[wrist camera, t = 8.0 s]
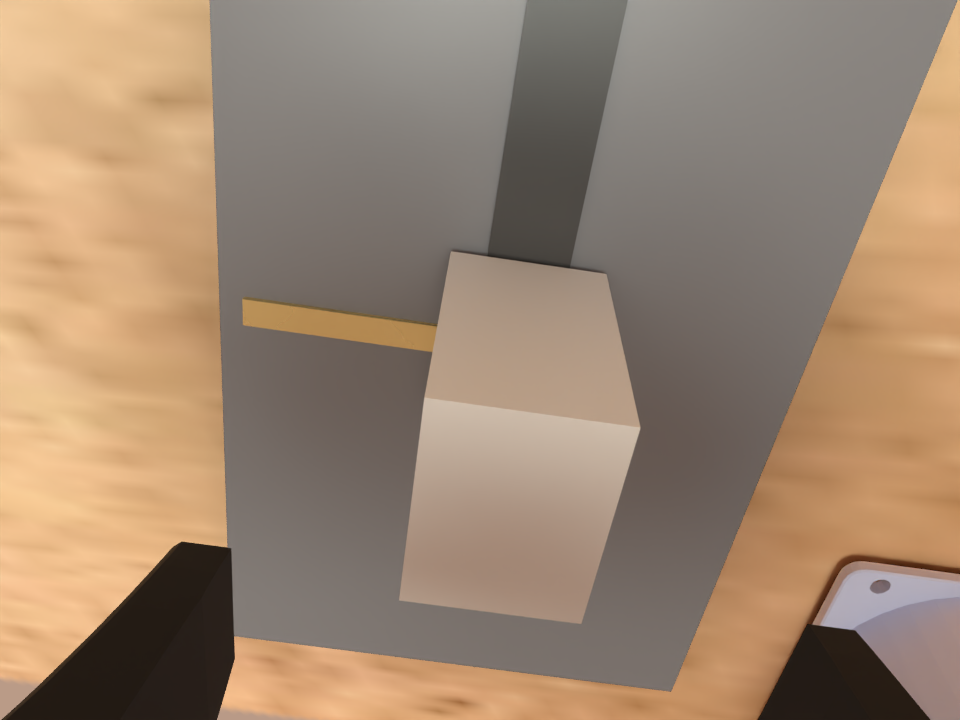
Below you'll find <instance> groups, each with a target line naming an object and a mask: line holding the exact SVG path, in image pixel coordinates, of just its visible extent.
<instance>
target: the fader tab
mask: <svg viewBox="0 0 960 720" xmlns="http://www.w3.org/2000/svg"><path fill="white" fill-rule="evenodd" d="M640 428H641V427H640V423H639V418H638V414H637V409H636V405H635V400H634V396H633V391H632V387H631V382H630V378H629V373H628V369H627V364H626V360H625V355H624V351H623V346H622V342H621V337H620V333H619V328H618V324H617V319H616V315H615V310H614V306H613V301H612V297H611V292H610V288H609V283H608V279H607V274H603V273H597V272H590V271H583V270H576V269H569V268H562V267H556V266H549V265H542V264H535V263H528V262H521V261H515V260H508V259H501V258H494V257H487V256H480V255H474V254H467V253H460V252H453V251H451V253H450V259H449V264H448V270H447V275H446V281H445V286H444V292H443V297H442V303H441V308H440V314H439V319H438V325H437V330H436V336H435V341H434V347H433V352H432V358H431V363H430V369H429V375H428V380H427V386H426V391H425V397H424V404H423V412H422V420H421V428H420V436H419V444H418V452H417V460H416V468H415V476H414V484H413V492H412V500H411V508H410V516H409V524H408V532H407V540H406V548H405V556H404V564H403V572H402V580H401V588H400V596H399V601H407V602H415V603H423V604H430V605H438V606H446V607H453V608H461V609H469V610H476V611H484V612H492V613H500V614H507V615H515V616H523V617H530V618H538V619H546V620H553V621H561V622H569V623H577V624H581V623H582V620H583V617H584V614H585V610H586V607H587V604H588V600H589V597H590V594H591V590H592V587H593V584H594V580H595V577H596V574H597V570H598V567H599V564H600V561H601V557H602V554H603V551H604V547H605V544H606V541H607V537H608V534H609V531H610V527H611V524H612V521H613V517H614V514H615V511H616V508H617V504H618V501H619V498H620V494H621V491H622V488H623V484H624V481H625V478H626V474H627V471H628V468H629V464H630V461H631V458H632V455H633V451H634V448H635V445H636V441H637V438H638V435H639V431H640Z"/></svg>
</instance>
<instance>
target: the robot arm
mask: <svg viewBox="0 0 960 720" xmlns="http://www.w3.org/2000/svg"><path fill="white" fill-rule="evenodd" d="M877 580H880V581H878V582H875V581H877ZM234 659H235V653H234V619H233V586H232V552H231V548H226V547H218V546H210V545H203V544H195V543H188V542H180V543H179V544H177V545H176V546H174V547H173V548H172V549H171V550H170V551H169V552H168V553H167V554H166V555H165V556H164V558H163V559H162V560H161V561H160V562H159V563H158V564H157V565H156V566H155V568H154V569H153V570H152V571H151V572H150V573H149V574H148V575H147V576H146V577H145V578H144V579H143V581H142V582H141V583H140V584H139V585H138V586H137V587H136V588H135V589H134V590H133V591H132V592H131V593H130V595H129V596H128V597H127V598H126V599H125V600H124V601H123V602H122V603H121V604H120V605H119V606H118V607H117V608H116V609H115V610H114V611H113V612H112V613H111V614H110V615H109V616H108V617H107V618H106V620H105V621H104V622H103V623H102V624H101V625H100V626H99V627H98V628H97V629H96V630H95V631H94V632H93V633H92V634H91V635H90V636H89V637H88V638H87V639H86V640H85V641H84V642H83V643H82V644H81V645H80V646H79V647H78V648H77V649H76V650H75V651H74V652H73V653H72V654H71V655H70V656H68V657H67V658H66V659H65V660H64V661H63V662H62V663H61V664H60V665H59V666H58V667H57V668H56V669H55V670H54V671H53V672H52V673H51V674H50V675H49V676H48V677H47V678H46V679H45V680H44V681H43V682H42V683H41V684H40V685H39V686H38V687H37V688H36V689H35V690H34V691H32V692H31V693H30V694H29V695H28V696H27V697H26V698H25V699H24V700H23V701H22V702H21V703H20V704H19V705H17V706H16V707H15V708H14V709H13V710H12V711H11V712H10V713H9V714H8V715H6V716H5V717H4V718H3V719H2V720H217V718H218V714H219V711H220V708H221V704H222V701H223V697H224V694H225V691H226V687H227V684H228V680H229V677H230V673H231V670H232V666H233V663H234ZM758 720H960V574H955V573H948V572H940V571H933V570H925V569H918V568H911V567H903V566H896V565H888V564H881V563H873V562H866V561H856V562H852V563H849V564H848V565H846V566H844V567H843V568H842V570H841V571H840V572H839V574H838V576H837V578H836V580H835V582H834V583H833V585H832V587H831V589H830V591H829V593H828V595H827V597H826V599H825V601H824V603H823V605H822V606H821V608H820V610H819V612H818V614H817V616H816V618H815V620H814V622H813V624H812V625H811V624H807V626H806V628H805V630H804V632H803V634H802V636H801V638H800V640H799V642H798V644H797V646H796V648H795V650H794V652H793V654H792V655H791V657H790V659H789V661H788V663H787V665H786V667H785V669H784V671H783V673H782V675H781V677H780V679H779V681H778V683H777V684H776V686H775V688H774V690H773V692H772V694H771V696H770V698H769V700H768V702H767V704H766V706H765V708H764V710H763V712H762V714H761V715H760V717H759V719H758Z"/></svg>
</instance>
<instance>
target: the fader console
mask: <svg viewBox="0 0 960 720" xmlns="http://www.w3.org/2000/svg"><path fill="white" fill-rule="evenodd" d="M956 3H957V0H210V26H211V57H212V87H213V117H214V148H215V178H216V209H217V239H218V270H219V300H220V331H221V361H222V392H223V422H224V453H225V483H226V513H227V544H228V548H231V552H232V586H233V619H234V636H238V637H245V638H253V639H261V640H269V641H277V642H285V643H293V644H300V645H308V646H316V647H324V648H332V649H340V650H348V651H355V652H363V653H371V654H379V655H387V656H395V657H403V658H410V659H418V660H426V661H434V662H442V663H450V664H458V665H465V666H473V667H481V668H489V669H497V670H505V671H513V672H521V673H528V674H536V675H544V676H552V677H560V678H568V679H576V680H583V681H591V682H599V683H607V684H615V685H623V686H631V687H638V688H646V689H654V690H662V691H670V692H671V691H672V688H673V686H674V684H675V681H676V679H677V676H678V674H679V671H680V669H681V667H682V664H683V662H684V659H685V657H686V655H687V652H688V650H689V647H690V645H691V642H692V640H693V638H694V635H695V633H696V630H697V628H698V626H699V623H700V621H701V618H702V616H703V614H704V611H705V609H706V606H707V604H708V601H709V599H710V597H711V594H712V592H713V589H714V587H715V585H716V582H717V580H718V577H719V575H720V572H721V570H722V568H723V565H724V563H725V560H726V558H727V556H728V553H729V551H730V548H731V546H732V544H733V541H734V539H735V536H736V534H737V531H738V529H739V527H740V524H741V522H742V519H743V517H744V515H745V512H746V510H747V507H748V505H749V502H750V500H751V498H752V495H753V493H754V490H755V488H756V486H757V483H758V481H759V478H760V476H761V473H762V471H763V469H764V466H765V464H766V461H767V459H768V457H769V454H770V452H771V449H772V447H773V445H774V442H775V440H776V437H777V435H778V432H779V430H780V428H781V425H782V423H783V420H784V418H785V416H786V413H787V411H788V408H789V406H790V403H791V401H792V399H793V396H794V394H795V391H796V389H797V387H798V384H799V382H800V379H801V377H802V375H803V372H804V370H805V367H806V365H807V362H808V360H809V358H810V355H811V353H812V350H813V348H814V346H815V343H816V341H817V338H818V336H819V333H820V331H821V329H822V326H823V324H824V321H825V319H826V317H827V314H828V312H829V309H830V307H831V304H832V302H833V300H834V297H835V295H836V292H837V290H838V288H839V285H840V283H841V280H842V278H843V276H844V273H845V271H846V268H847V266H848V263H849V261H850V259H851V256H852V254H853V251H854V249H855V247H856V244H857V242H858V239H859V237H860V234H861V232H862V230H863V227H864V225H865V222H866V220H867V218H868V215H869V213H870V210H871V208H872V206H873V203H874V201H875V198H876V196H877V193H878V191H879V189H880V186H881V184H882V181H883V179H884V177H885V174H886V172H887V169H888V167H889V164H890V162H891V160H892V157H893V155H894V152H895V150H896V148H897V145H898V143H899V140H900V138H901V135H902V133H903V131H904V128H905V126H906V123H907V121H908V119H909V116H910V114H911V111H912V109H913V107H914V104H915V102H916V99H917V97H918V94H919V92H920V90H921V87H922V85H923V82H924V80H925V78H926V75H927V73H928V70H929V68H930V65H931V63H932V61H933V58H934V56H935V53H936V51H937V49H938V46H939V44H940V41H941V39H942V37H943V34H944V32H945V29H946V27H947V24H948V22H949V20H950V17H951V15H952V12H953V10H954V8H955V5H956ZM451 251H453V252H460V253H467V254H474V255H480V256H487V257H494V258H501V259H508V260H515V261H521V262H528V263H535V264H542V265H549V266H556V267H562V268H569V269H576V270H583V271H590V272H597V273H603V274H607V279H608V283H609V288H610V292H611V297H612V301H613V306H614V310H615V315H616V319H617V324H618V328H619V333H620V337H621V342H622V346H623V351H624V355H625V360H626V364H627V369H628V373H629V378H630V382H631V387H632V391H633V396H634V400H635V405H636V409H637V414H638V418H639V423H640V427H641V428H640V431H639V435H638V438H637V441H636V445H635V448H634V451H633V455H632V458H631V461H630V464H629V468H628V471H627V474H626V478H625V481H624V484H623V488H622V491H621V494H620V498H619V501H618V504H617V508H616V511H615V514H614V517H613V521H612V524H611V527H610V531H609V534H608V537H607V541H606V544H605V547H604V551H603V554H602V557H601V561H600V564H599V567H598V570H597V574H596V577H595V580H594V584H593V587H592V590H591V594H590V597H589V600H588V604H587V607H586V610H585V614H584V617H583V620H582V623H581V624H577V623H569V622H561V621H553V620H546V619H538V618H530V617H523V616H515V615H507V614H500V613H492V612H484V611H476V610H469V609H461V608H453V607H446V606H438V605H430V604H423V603H415V602H407V601H399V596H400V588H401V580H402V572H403V564H404V556H405V548H406V540H407V532H408V524H409V516H410V508H411V500H412V492H413V484H414V476H415V468H416V460H417V452H418V444H419V436H420V428H421V420H422V412H423V404H424V397H425V391H426V386H427V380H428V375H429V369H430V363H431V358H432V352H433V347H434V341H435V336H436V330H437V325H438V319H439V314H440V308H441V303H442V297H443V292H444V286H445V281H446V275H447V270H448V264H449V259H450V253H451Z"/></svg>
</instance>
